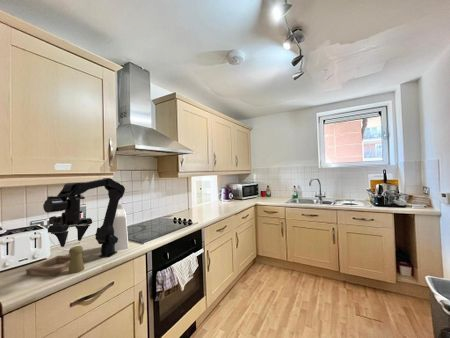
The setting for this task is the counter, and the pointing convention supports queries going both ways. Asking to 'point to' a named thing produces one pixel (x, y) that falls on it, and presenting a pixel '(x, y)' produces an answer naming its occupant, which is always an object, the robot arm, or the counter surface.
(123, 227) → the milk
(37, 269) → the socket block
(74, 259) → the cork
